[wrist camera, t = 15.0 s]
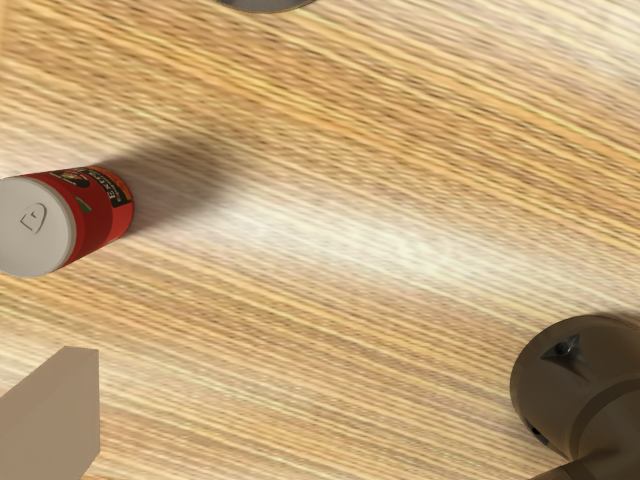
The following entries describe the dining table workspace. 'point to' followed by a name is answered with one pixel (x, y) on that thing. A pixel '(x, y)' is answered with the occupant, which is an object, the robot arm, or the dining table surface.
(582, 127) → the dining table surface
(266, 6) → the bolted flange plate
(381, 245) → the dining table surface
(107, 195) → the canned food
